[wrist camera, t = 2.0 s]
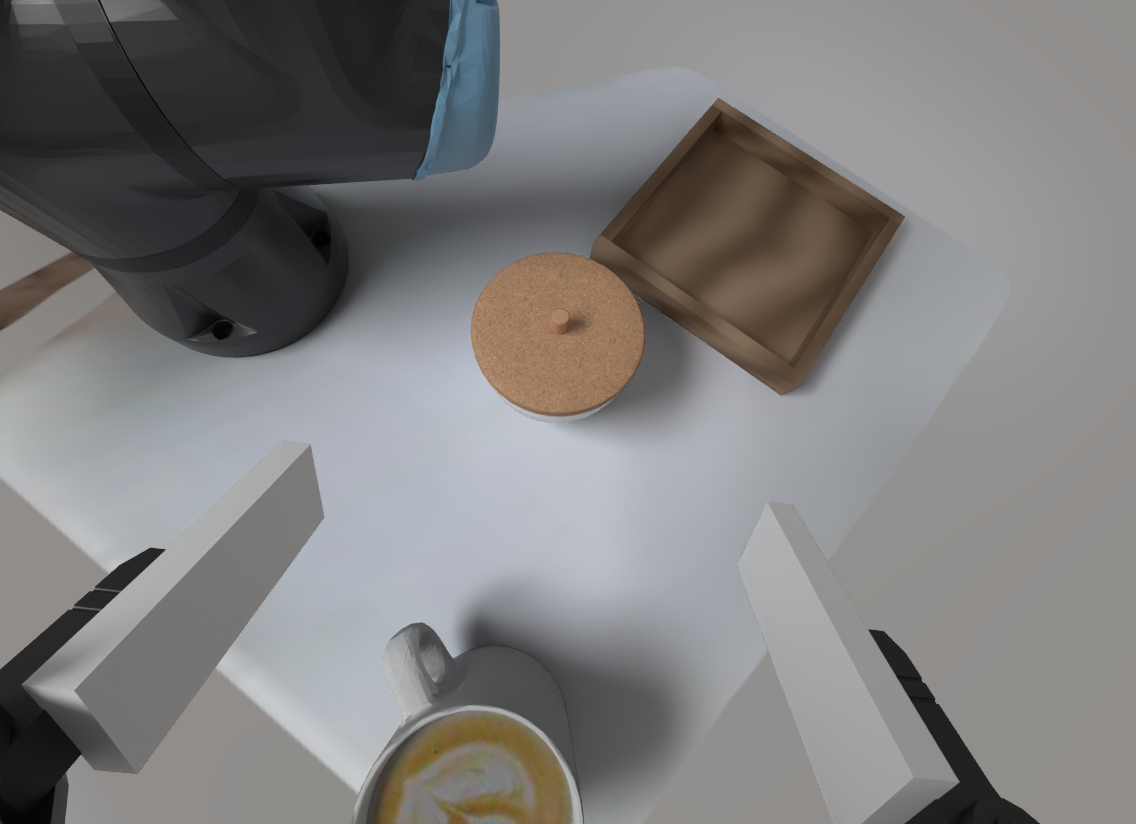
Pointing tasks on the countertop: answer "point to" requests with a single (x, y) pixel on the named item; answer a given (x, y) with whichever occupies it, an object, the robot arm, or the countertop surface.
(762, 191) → the walnut square tray
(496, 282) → the lidded jar
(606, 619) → the countertop surface
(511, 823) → the coffee mug
